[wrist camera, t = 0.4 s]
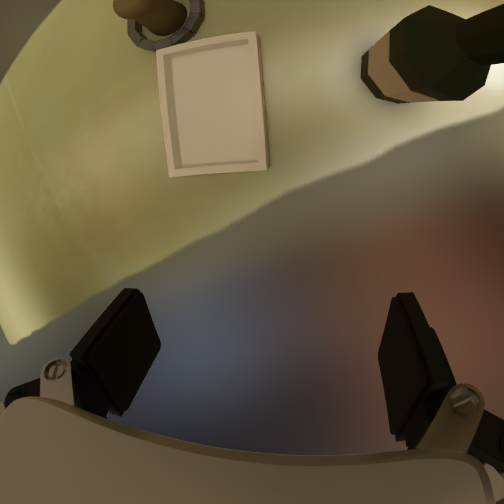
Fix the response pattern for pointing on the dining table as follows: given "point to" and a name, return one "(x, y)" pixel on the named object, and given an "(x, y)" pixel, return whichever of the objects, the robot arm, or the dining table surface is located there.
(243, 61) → the white rectangular tray
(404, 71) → the wine bottle
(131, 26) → the stone ring
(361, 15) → the dining table surface
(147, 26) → the cork
